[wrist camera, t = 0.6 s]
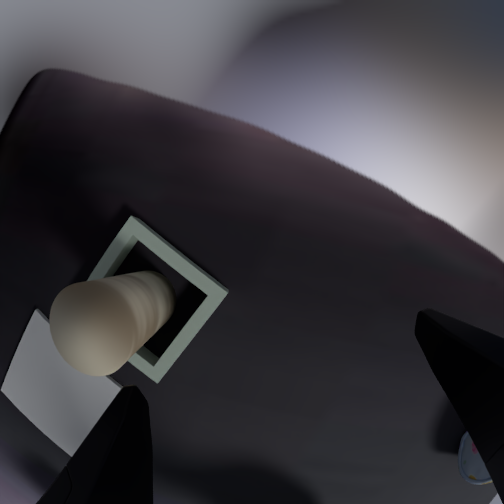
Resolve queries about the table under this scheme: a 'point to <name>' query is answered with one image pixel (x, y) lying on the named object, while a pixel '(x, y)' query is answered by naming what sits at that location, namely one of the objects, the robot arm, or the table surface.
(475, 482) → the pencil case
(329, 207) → the table surface
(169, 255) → the green collar
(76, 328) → the ash peg
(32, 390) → the rubber mat
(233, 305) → the table surface
